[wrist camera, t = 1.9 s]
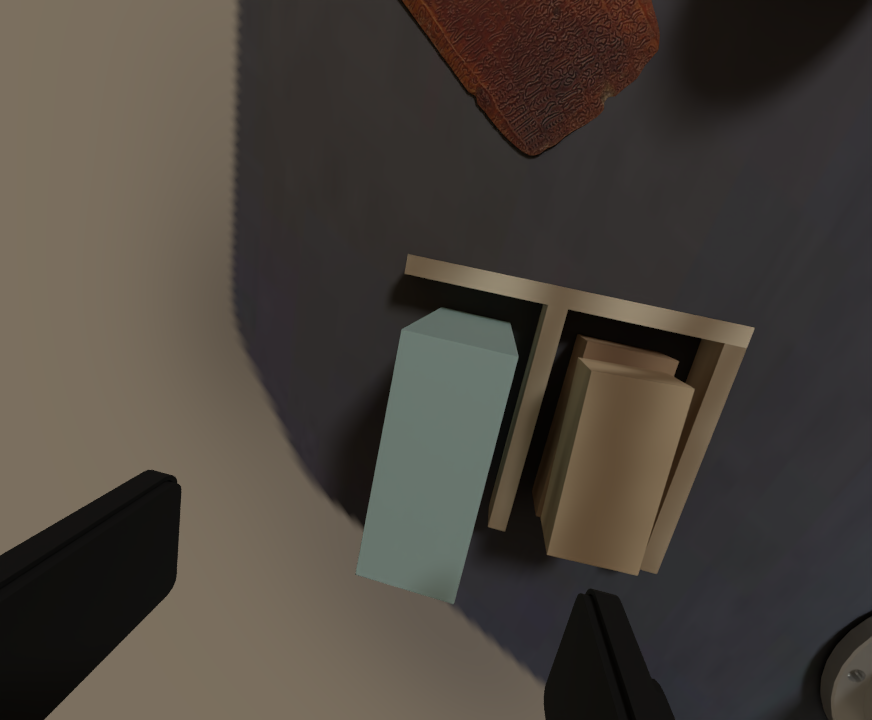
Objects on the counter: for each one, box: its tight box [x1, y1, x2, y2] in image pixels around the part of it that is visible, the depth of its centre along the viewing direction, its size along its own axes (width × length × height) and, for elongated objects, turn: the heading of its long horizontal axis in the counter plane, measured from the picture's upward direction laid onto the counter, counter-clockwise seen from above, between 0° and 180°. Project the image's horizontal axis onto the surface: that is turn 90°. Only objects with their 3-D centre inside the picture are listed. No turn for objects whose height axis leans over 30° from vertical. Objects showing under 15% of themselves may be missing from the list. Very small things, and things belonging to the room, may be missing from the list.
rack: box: [405, 254, 755, 574], centre depth 23 cm, size 17×14×2 cm
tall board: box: [356, 307, 519, 604], centre depth 19 cm, size 4×10×10 cm, turn 168°
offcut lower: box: [532, 334, 679, 517], centre depth 22 cm, size 4×10×3 cm, turn 168°
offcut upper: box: [541, 357, 695, 576], centre depth 19 cm, size 4×9×3 cm, turn 171°
